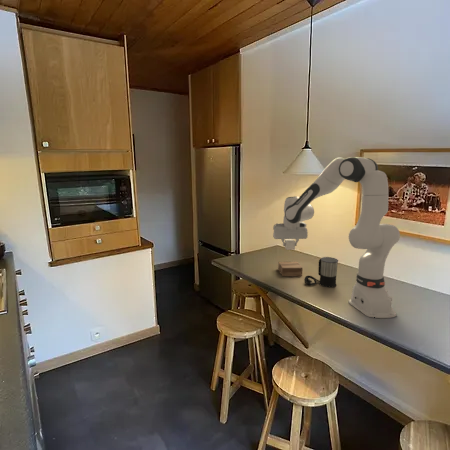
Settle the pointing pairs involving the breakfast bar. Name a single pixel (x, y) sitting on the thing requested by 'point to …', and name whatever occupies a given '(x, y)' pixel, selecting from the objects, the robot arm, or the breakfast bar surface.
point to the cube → (290, 244)
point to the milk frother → (325, 272)
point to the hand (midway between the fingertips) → (289, 245)
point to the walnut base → (290, 268)
